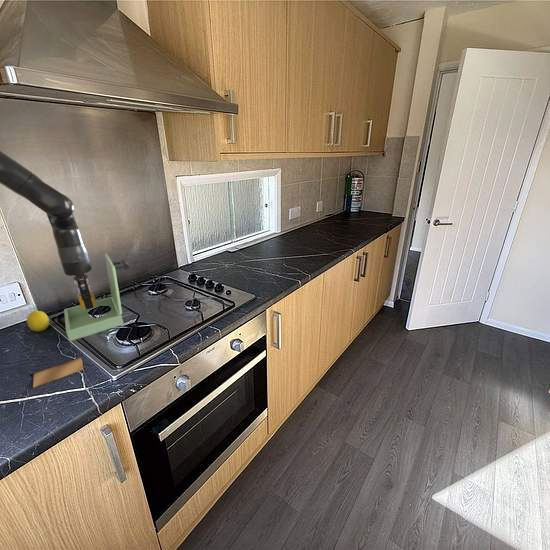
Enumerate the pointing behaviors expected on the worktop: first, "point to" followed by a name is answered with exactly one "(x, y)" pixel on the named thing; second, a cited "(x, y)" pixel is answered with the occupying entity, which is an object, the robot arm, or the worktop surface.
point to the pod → (83, 301)
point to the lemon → (37, 321)
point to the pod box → (90, 320)
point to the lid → (115, 279)
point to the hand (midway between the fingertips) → (88, 305)
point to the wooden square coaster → (57, 372)
